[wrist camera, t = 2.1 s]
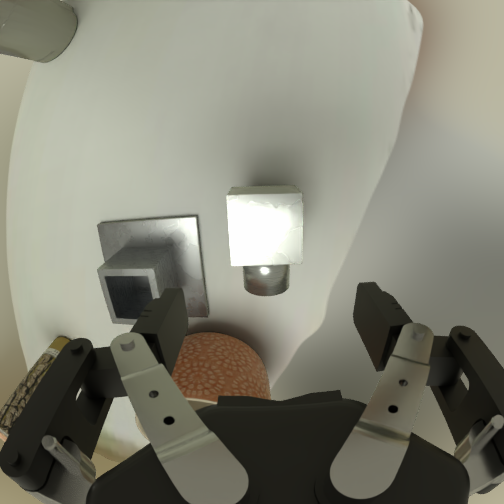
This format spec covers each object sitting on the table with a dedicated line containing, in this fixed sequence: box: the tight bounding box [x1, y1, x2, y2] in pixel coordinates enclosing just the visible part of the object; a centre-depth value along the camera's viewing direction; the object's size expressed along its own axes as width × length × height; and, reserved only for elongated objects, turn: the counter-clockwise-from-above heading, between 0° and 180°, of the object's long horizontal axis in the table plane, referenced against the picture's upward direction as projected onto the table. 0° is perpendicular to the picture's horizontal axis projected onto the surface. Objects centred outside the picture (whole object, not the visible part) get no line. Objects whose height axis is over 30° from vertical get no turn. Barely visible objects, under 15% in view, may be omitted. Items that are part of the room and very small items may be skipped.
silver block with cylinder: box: [227, 185, 303, 296], centre depth 28 cm, size 9×6×11 cm, turn 2°
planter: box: [135, 332, 271, 440], centre depth 35 cm, size 17×17×15 cm
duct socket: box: [97, 215, 209, 325], centre depth 32 cm, size 14×14×8 cm
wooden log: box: [0, 337, 70, 442], centre depth 31 cm, size 7×7×25 cm
